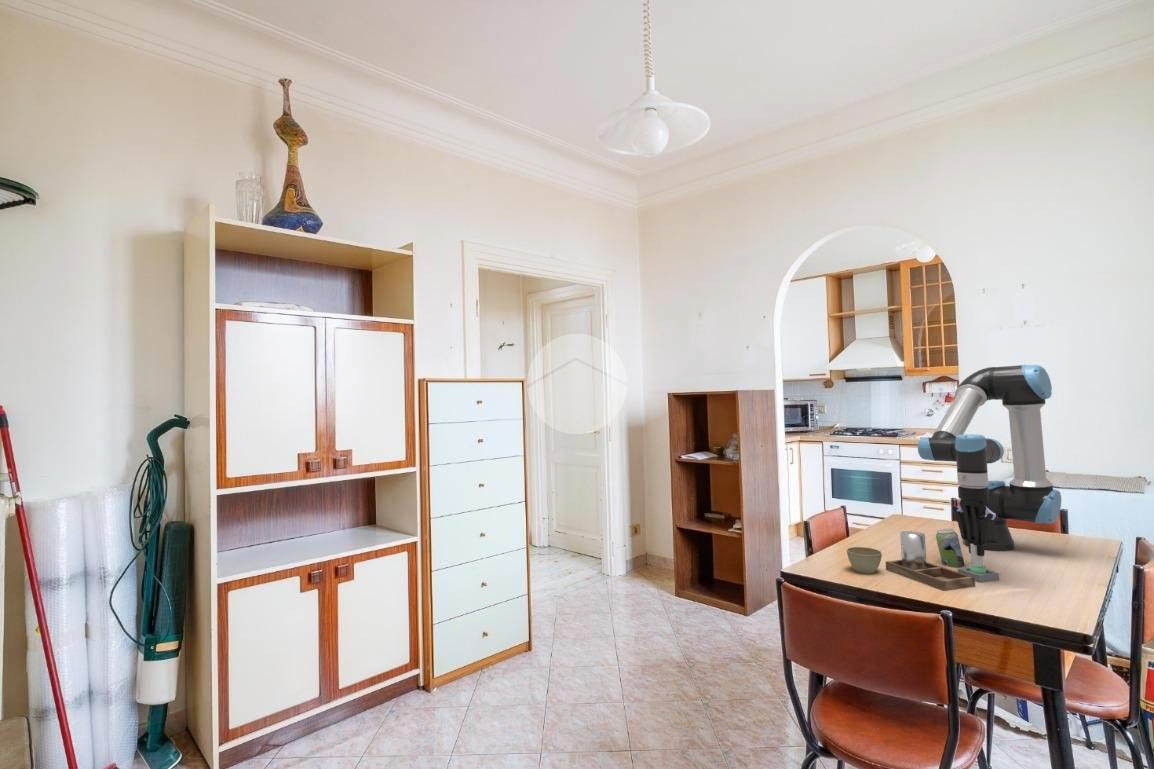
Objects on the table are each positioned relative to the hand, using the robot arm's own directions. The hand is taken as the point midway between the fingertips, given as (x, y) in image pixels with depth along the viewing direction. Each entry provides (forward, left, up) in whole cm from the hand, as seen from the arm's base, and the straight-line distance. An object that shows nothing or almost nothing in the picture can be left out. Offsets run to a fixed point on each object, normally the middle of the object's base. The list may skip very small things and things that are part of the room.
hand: (977, 565), depth 166 cm
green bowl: (+25, -17, -5) cm, 31 cm away
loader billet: (+13, -10, -4) cm, 17 cm away
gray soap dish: (0, 0, -5) cm, 5 cm away
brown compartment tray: (+13, -5, -5) cm, 15 cm away
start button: (0, 0, -3) cm, 3 cm away
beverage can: (-4, -13, -5) cm, 14 cm away
